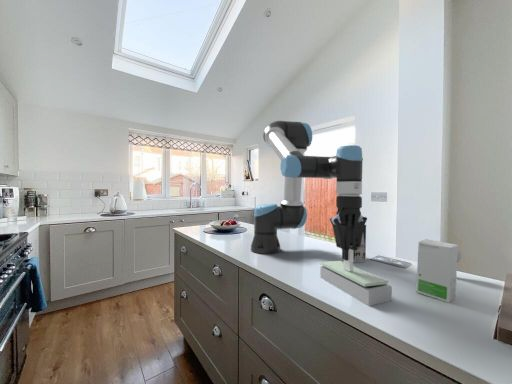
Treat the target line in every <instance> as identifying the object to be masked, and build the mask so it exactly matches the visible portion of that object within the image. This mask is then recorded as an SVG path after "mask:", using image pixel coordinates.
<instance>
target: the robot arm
mask: <svg viewBox="0 0 512 384" xmlns="http://www.w3.org/2000/svg"><path fill="white" fill-rule="evenodd" d="M262 137H263V141H264V143H265V145H267V146H268V147H269V148H272V151H274V152H275V154H276V155H277V157H278V158H279V160H280V171H281V175H282V176H283V177H284V184H283V185H284V188H283V199H282V200H281V201H280V205H279V206H278V204H277V203H265V204H261V205H257V206H255V208H254V211H253V219H254V221H253V222H254V223H253V226H254V228H253V229H254V230H253V232H254V234H253V238H252V241H251V244H250V251H251V252H253V253H256V254H266V255H267V254H268V255H270V254H276V253H279V252H281V244H280V241H279V238H278V230H279V229H280V230H284V229H287V230H289V229H292V230H295V229H301V228H302V227H304V226H305V224H306V222H307V219H308V212H307V208H306V207H305V206H304V203H303V201H301V198H302V196H301V195H302V194H301V193H302V183H303V182H302V179H303V178H305V179H306V178H307V179H310V178H312V179H325V180H328V179H329V180H330V179H331V180H332V179H336V185H335V187H336V193H335V194H336V195H337V196H336V198H335V203H336V205H335V206H336V207H337V211H336V214H335V216H334V217H330V218H329V222H330V223H331V225H332V230H333V234H334V240H335V244H336V248H338V249H341V258H342V260H343V262H344V263H343V269H345V270H347V271H349V272H350V271H353V266H354V262H353V259H354V258H355V250H357V249H358V248H357V247H360V245H361V240H362V235H363V230H364V225H366V223H367V221H368V218H367V216H363V215H362V212H361V208H363V197H362V196H360V195H362V194H363V180H362V179H363V161H364V159H363V150H362V149H363V148H362V147H361V146H360V145H343V146H342V145H341V146H339V147H338V148H336V149H337V150H336V153H335V155H334V156H333V155H332V156H318V155H304V153H305V152H306V151H308V148H309V147H310V146H311V145H312V142H313V131H312V128H311V126H310V124H309V123H306V122H302V121H288V120H287V121H286V120H275V121H272V122H270V123H269V124H268V125H266V127H265V128H264V130H263V133H262ZM356 242H357V243H356Z"/></svg>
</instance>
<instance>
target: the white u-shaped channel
mask: <svg viewBox="0 0 512 384" xmlns="http://www.w3.org/2000/svg"><path fill="white" fill-rule="evenodd" d="M319 277H320V278H321V279H322V280H324V281H326V282H327V283H329V284H330V285H333V287H336V288H337V289H340V290H341V291H343V292H344V293H346V294H348V295H349V296H350V297H353V298H355V299H356V300H358V301H360V302H362V303H363V304H365V305H366V306H373V305H379V304H383V303H388V302H391V301H392V300H393V299H392V298H393V297H392V295H393V294H392V293H393V286H391V285H389V284H382V285H374V286H366V287H364V286H362V285H360V284H358V283H356V282H354V281H352V280H350V279H348V278H346V277H344V276H342V275H340V274H338V273H336V272H334V271H332V270H330V269H328V268H326V267H324V266H322V265H321V266H320V274H319Z"/></svg>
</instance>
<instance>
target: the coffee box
mask: <svg viewBox="0 0 512 384" xmlns="http://www.w3.org/2000/svg"><path fill="white" fill-rule="evenodd" d="M356 243H357V242H356ZM366 243H367V224H365V225H364V230H363V235H362V240H361V245H360V247H357V248H358V249H357V250H355V258H354V259H353V263H354V262H355V263H366V258H367V257H366V256H367V254H366V253H367V252H366V248H367V247H366V246H367V245H366Z"/></svg>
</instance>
